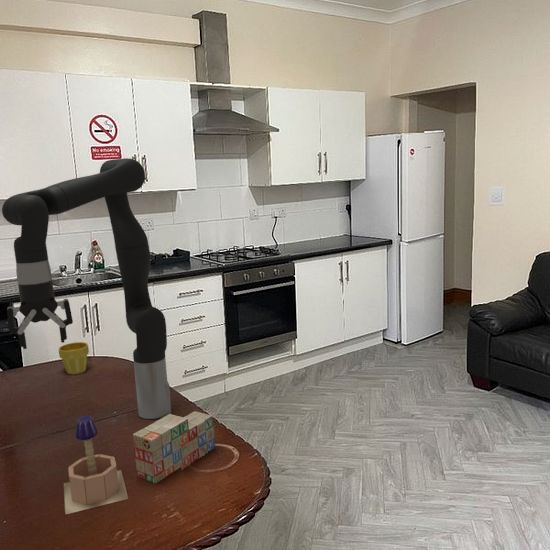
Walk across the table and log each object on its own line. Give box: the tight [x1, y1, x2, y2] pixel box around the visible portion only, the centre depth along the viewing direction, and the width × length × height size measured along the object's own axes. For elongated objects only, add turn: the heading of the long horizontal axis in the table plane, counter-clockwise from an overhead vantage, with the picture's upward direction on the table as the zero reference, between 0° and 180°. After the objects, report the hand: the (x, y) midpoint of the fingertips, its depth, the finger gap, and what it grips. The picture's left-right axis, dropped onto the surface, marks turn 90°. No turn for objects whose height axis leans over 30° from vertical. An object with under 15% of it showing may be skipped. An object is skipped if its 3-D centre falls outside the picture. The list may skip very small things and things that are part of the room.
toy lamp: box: [75, 415, 99, 476], centre depth 123 cm, size 5×5×17 cm
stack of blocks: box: [132, 410, 216, 484], centre depth 136 cm, size 21×6×12 cm, turn 146°
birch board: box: [63, 469, 129, 515], centre depth 125 cm, size 13×13×1 cm
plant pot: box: [58, 341, 90, 375], centre depth 204 cm, size 10×10×10 cm
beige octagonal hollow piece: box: [67, 453, 119, 505], centre depth 124 cm, size 10×10×6 cm
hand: (44, 345), depth 134 cm, fingers open, 8 cm apart
